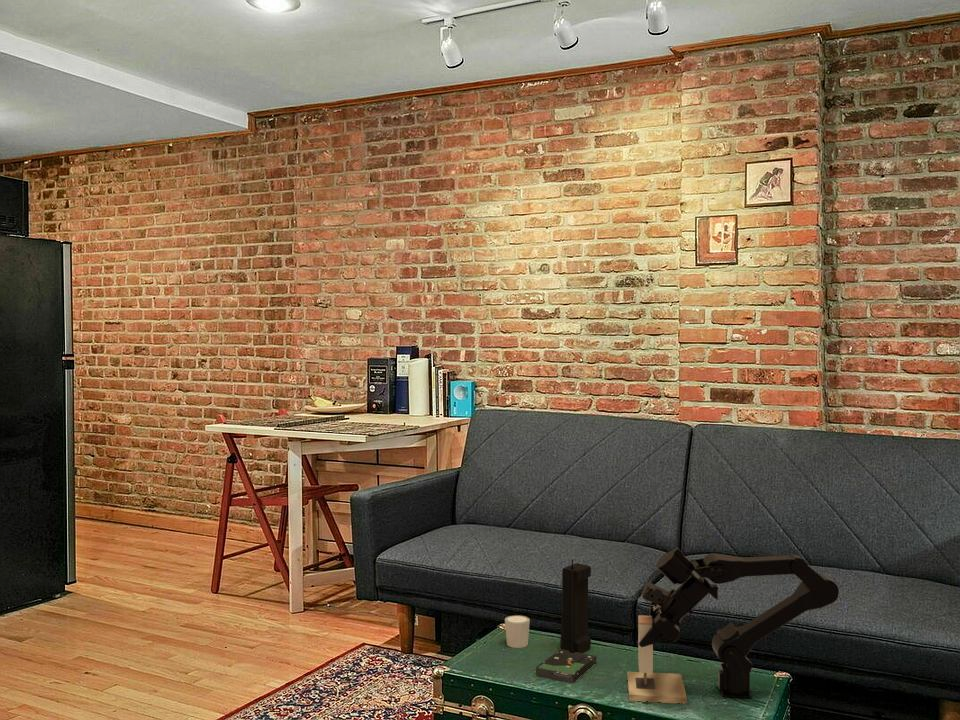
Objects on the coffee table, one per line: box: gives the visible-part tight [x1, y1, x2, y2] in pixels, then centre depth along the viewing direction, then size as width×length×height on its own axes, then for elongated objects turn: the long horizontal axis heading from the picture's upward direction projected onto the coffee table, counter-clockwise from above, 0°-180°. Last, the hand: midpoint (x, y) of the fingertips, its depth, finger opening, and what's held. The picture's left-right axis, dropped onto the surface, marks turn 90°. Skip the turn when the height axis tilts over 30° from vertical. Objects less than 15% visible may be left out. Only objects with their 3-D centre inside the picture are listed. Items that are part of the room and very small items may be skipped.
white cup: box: [504, 615, 531, 649], centre depth 242 cm, size 7×7×7 cm
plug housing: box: [637, 614, 654, 673], centre depth 211 cm, size 3×5×12 cm, turn 173°
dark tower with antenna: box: [559, 559, 592, 653], centre depth 238 cm, size 8×6×25 cm
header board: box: [626, 671, 688, 705], centre depth 211 cm, size 13×14×4 cm
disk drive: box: [535, 649, 597, 684], centre depth 224 cm, size 10×3×15 cm
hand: (639, 641), depth 211 cm, fingers closed on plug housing, 5 cm apart
